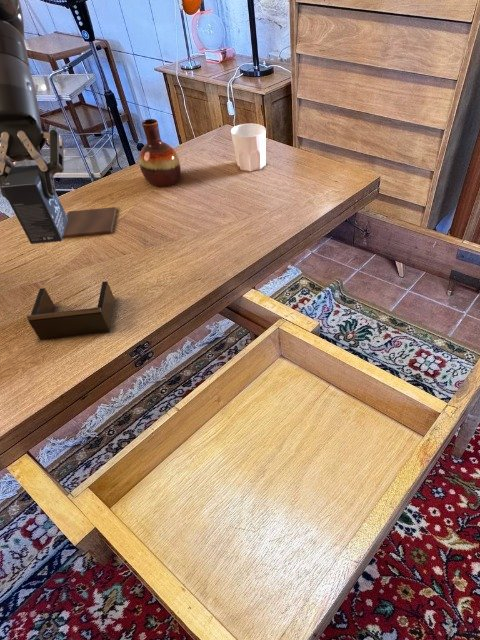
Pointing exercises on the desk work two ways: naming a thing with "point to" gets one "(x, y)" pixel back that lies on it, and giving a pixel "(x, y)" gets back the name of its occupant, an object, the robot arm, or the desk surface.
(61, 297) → the desk surface
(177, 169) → the vase
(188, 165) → the desk surface
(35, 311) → the dark brown open tray
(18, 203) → the box
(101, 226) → the plate
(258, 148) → the cup
